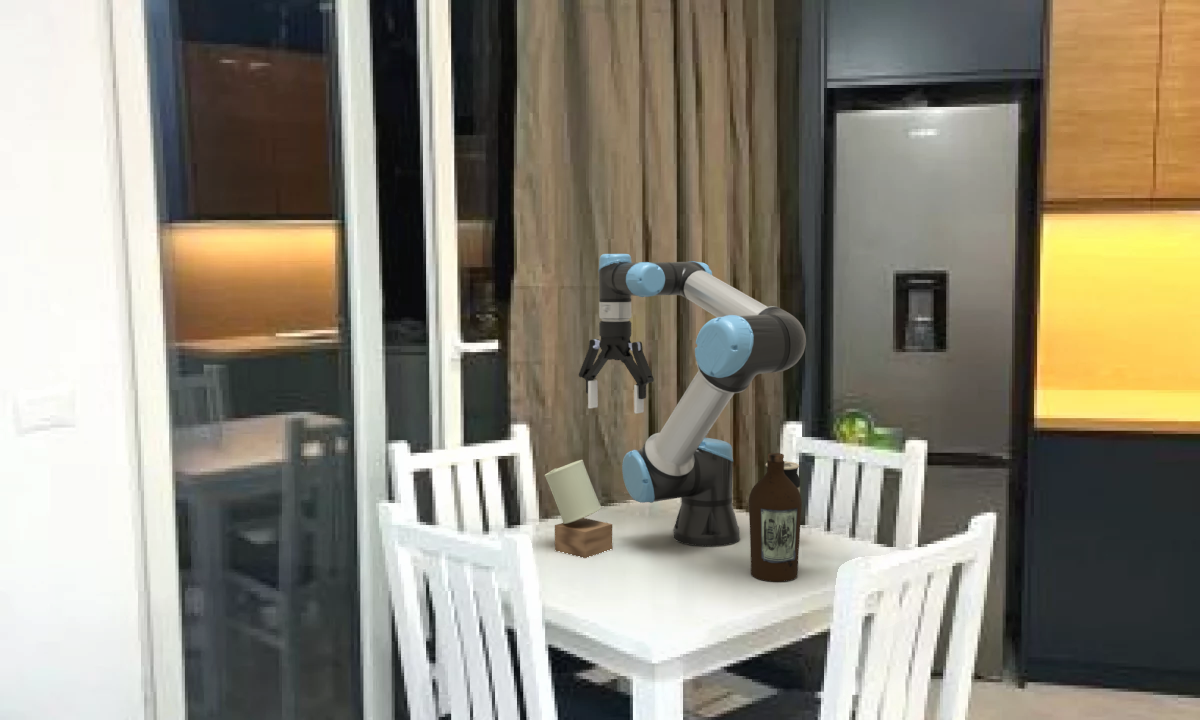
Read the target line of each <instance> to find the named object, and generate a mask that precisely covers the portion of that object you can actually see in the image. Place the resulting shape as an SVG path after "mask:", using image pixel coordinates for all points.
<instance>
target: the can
mask: <svg viewBox="0 0 1200 720" xmlns="http://www.w3.org/2000/svg"><path fill="white" fill-rule="evenodd" d="M544 477H545V479H546V482H547V483H548V486H549V488H550V490H551V491H550V492H551V493H552V496H553V499H554V501H555V503H556V506H557V509H558V512H559V515H560V517H561V521H562V523H563V524H566V523H570V522H573V521H576V520H579V519H582V518H587V517H589V516H591V515H593V514H595V513H597V512H599V511H601V510H602V508H603V507H602V506H601V503H600V501H599V499H598V497H597V493H596V492H595V489H594V486H593V483H592V482H591V481H592V480H591V479H590V476H589V473H588V471H587V469H586V466H585V463H584V460H583V459H580V460H579V459H578V460H576V461H573V462H571V463H568V464H566V465H563V466H561V467H558V468H557V467H556V468H553V469H552V470H550V471H549V472H547V473H546V474H544Z"/></svg>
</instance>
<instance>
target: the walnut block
mask: <svg viewBox="0 0 1200 720" xmlns="http://www.w3.org/2000/svg"><path fill="white" fill-rule="evenodd" d="M610 549H612V550H613V524H612V523H611V522H610V523H609V522H604V521H599V520H594V519H590V518H587V517H584V518H582V519H579V520H576V521H573V522H570V523H566V524H563V522H561V523H558V524H554V551H555V550H556V551H555V552H558V551H560V552H559V553H562V552H564V553H563V554H566V553H568V554H567V555H570V554H572V555H571V556H574V555H576V556H575V557H578V556H580V557H579V558H582V557H583V558H582V559H588V558H590V557H589V556H591V557H594V556H596V554H597V555H600V554H602V552H603V553H605V552H604V551H606V552H608V551H607V550H609V551H611V550H610ZM599 553H600V554H599ZM593 555H594V556H593ZM587 557H588V558H587Z"/></svg>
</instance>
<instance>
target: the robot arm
mask: <svg viewBox="0 0 1200 720" xmlns="http://www.w3.org/2000/svg"><path fill="white" fill-rule="evenodd" d="M598 261H599V262H598V263H599V265H598V271H597V272H598V296H599V297H598V298H599V299H598V300H599V301H598V302H599V306H598V307H599V310H598V311H599V313H598V314H599V315H598V316H599V317H598V318H599V319H600V322H598V323H599V325H598V327H599V329H598V331H599V332H598V334H599V336H600V339H598V338H596V339H594V338H593V339H590V340H589V343H588V350H587V353H586V355H585V357H584V360H583V363H582V364H581V368H580V370H579V372H578V377H579V378H582V379H584V380H585V393H586V394H587V403H588V404H587V409H595V408H598V407H599V405H598V403H599V402H598V401H599V400H598V399H599V397H598V394H599V393H598V392H599V391H598V389H599V388H598V380H597V376H598V375H599V373H600V372H601V371H602V369H603V368H604V366H605V365H606V363H607V362H608V361H611V360H614V361H620V362H622V363H623V364H624V365H625V367H626V369H627V370H628V372H629V374H630V375H631V377H632V378H633V380H634V382H635V383H636V384H634V385H633V389H634V390H633V395H634V396H633V405H634V406H633V407H634V408H633V410H634V411H633V412H634V414H637V415H638V414H641V413H644V412H645V411H644V408H645V404H644V403H645V399H646V398H647V385H648V384H649V383H653V382H654V381H655V378H654V376H653V374H652V371H651V368H650V366H649V364H648V361H647V359H646V356H645V354H644V353H645V352H644V351H643V350H644V348H643V343H642V341H633V342H632V341H631V337H632V322H631V320H630V319H631V318H633V317H632V316H633V315H632V296H636V297H639V298H645V297H646V298H649V297H654V296H656V297H657V296H682V297H683V298H685V299H686V300H688V301H690V302H691V303H693V304H695V305H696V306H697V307H699V308H701V309H703V310H704V311H706V312H708V313H709V314H711V315H712V316H714V318H712V319H710V320H708V321H707V322H706V323H704V325H702V327H701V328H700V330H699V332H698V334H697V336H696V340H695V345H697V346H696V347H695V348H694V357H695V361H696V366H697V370H698V371H696V372H697V373H696V374H695V376H694V377H693V379H692V380H691V382H690V383H689V385H688V386H687V388H686V390H685V391H684V393H683V395H682V396H681V398H680V400H679V401H678V403H677V404H676V406H675V408H674V409H673V411H672V412H671V414H670V416H669V418H668V419H667V420H666V422H665V424H664V425H663V427H662V428H661V430H660V432H656V433H653V434H652V435H650V436H649V437H648V438H647V440H646V441H645V442H644V444H643V446H642V447H641V448H639V449H638V450H637V449H632V450H630V451H628V452H626V454H625V455H624V457H623V459H622V466H621V469H622V479H623V482H624V486H625V488H626V491H627V492H628V494H629V496H630V497H631V498H632V500H634V501H636V502H638V503H640V504H641V503H642V504H643V503H651V504H652V503H654V502H655V503H656V502H661V501H667V500H673V499H681V502H680V503H681V504H680V508H679V510H678V513H677V516H676V519H675V523H674V526H673V539H674V540H675V541H677V542H678V543H682V544H684V545H689V546H697V547H721V546H728V545H732V544H735V543H737V542H738V541H740V539H741V538H740V532H741V531H740V526H739V525H738V519H737V516H736V513H735V510H734V507H733V470H734V469H733V467H734V466H733V465H734V459H733V447H732V445H731V444H730V443H729V442H727V441H725V440H721V439H716V438H711V437H707V435H708V434H709V432H710V430H711V429H712V428H713V426H714V424H715V423H716V421H717V420H718V418H719V417H720V415H721V414H722V413H723V411H724V410H725V408H726V407H727V405H728V403H729V402H730V400H731V399H732V398H733V396H734V395H735V394H739V393H742V392H744V391H745V390H747V388H748V387H749V386H750V384H751V383H752V382H753V380H754V378H755V377H756V376H757V375H760V374H761V375H762V374H769V373H781V372H784V371H787V370H788V369H790V368H792V367H794V366H795V365H796V364H797V363H798V362H799V360H800V359H801V358H802V356H803V355H804V352H805V350H806V349H805V348H806V344H807V342H806V341H807V339H806V338H807V337H806V332H805V329H804V328H803V327H804V326H803V325H802V323H801V322H800V321H799V320H798V319H797V318H796V317H795V316H794V315H792V314H791V313H789V312H787V311H786V310H785V309H783V308H780V307H779V306H776V305H773V306H772V305H770V306H768V305H765V304H764V303H762V302H760V301H758V300H757V299H755V298H753V297H752V296H749V295H747V294H746V293H744V292H742V291H741V290H739V289H737V288H735V287H734V286H732V285H730V284H728V283H726V282H725V281H723V280H722V279H719V278H717V277H716V276H714V275H713V271H712V269H710V266H709V265H708V264H706V263H704V262H702V261H692V260H691V261H673V262H672V261H670V262H669V261H668V262H667V261H665V262H664V261H663V262H661V261H660V262H658V261H657V262H650V261H649V262H648V261H642V262H641V261H640V262H633V261H632V257H631V255H630V254H629V253H603V254H601V255H600V256H599V260H598ZM599 350H601V351H600V352H599ZM631 351H632V353H631ZM598 353H599V354H598ZM596 358H597V359H596Z"/></svg>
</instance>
